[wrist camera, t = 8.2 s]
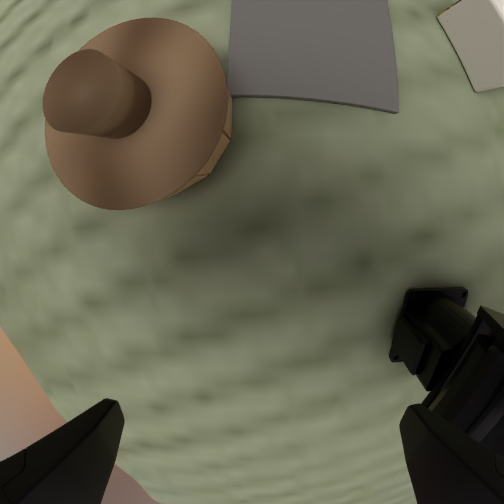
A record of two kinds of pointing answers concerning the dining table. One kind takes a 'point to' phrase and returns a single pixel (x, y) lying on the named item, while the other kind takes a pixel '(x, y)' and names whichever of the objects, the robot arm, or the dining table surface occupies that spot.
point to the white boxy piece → (478, 40)
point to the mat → (314, 52)
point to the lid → (135, 113)
